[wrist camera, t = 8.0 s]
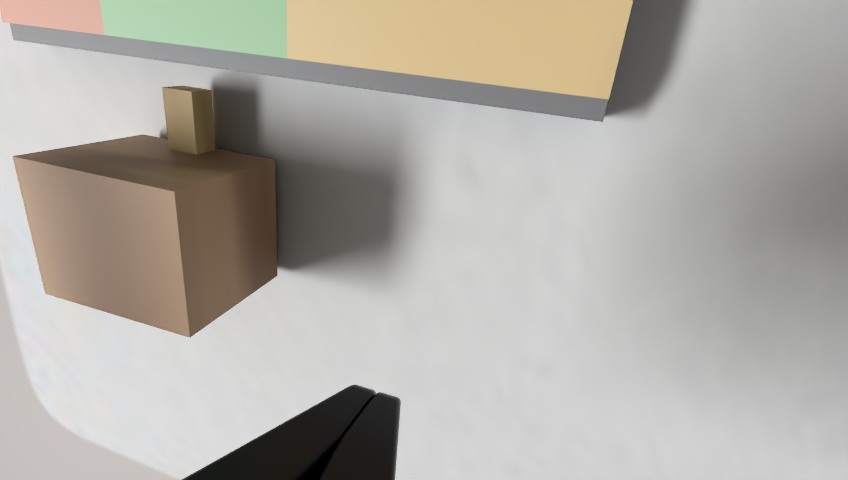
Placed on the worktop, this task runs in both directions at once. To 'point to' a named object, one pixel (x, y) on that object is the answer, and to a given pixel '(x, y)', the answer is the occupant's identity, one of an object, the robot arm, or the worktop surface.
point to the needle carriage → (154, 220)
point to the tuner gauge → (365, 43)
